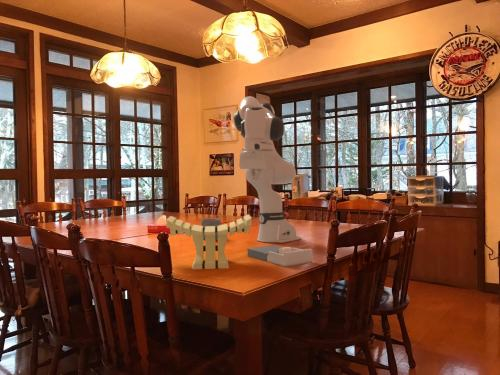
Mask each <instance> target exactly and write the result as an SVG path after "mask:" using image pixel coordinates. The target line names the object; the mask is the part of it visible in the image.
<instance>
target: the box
mask: <svg viewBox="0 0 500 375" xmlns="http://www.w3.org/2000/svg"><path fill="white" fill-rule="evenodd" d="M292 250H293V251H292V252H286V253H284V255H283V254H279V253H275V252H271V251H269V252H268V255H267V261H266V262H267V263H270V264H274V265H277V266H281V267H284V268H288V267H293V266H299V265H304V264H309V263H311V264H312V263H313V248H306V249H302V248H297V247H292Z"/></svg>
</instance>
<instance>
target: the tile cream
mask: <svg viewBox="0 0 500 375" xmlns="http://www.w3.org/2000/svg"><path fill="white" fill-rule="evenodd" d="M282 247H283V246H282ZM292 250H293V247H291V246H285V247H283V248H279V254H283V255H284V253H286V252H292Z"/></svg>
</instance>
